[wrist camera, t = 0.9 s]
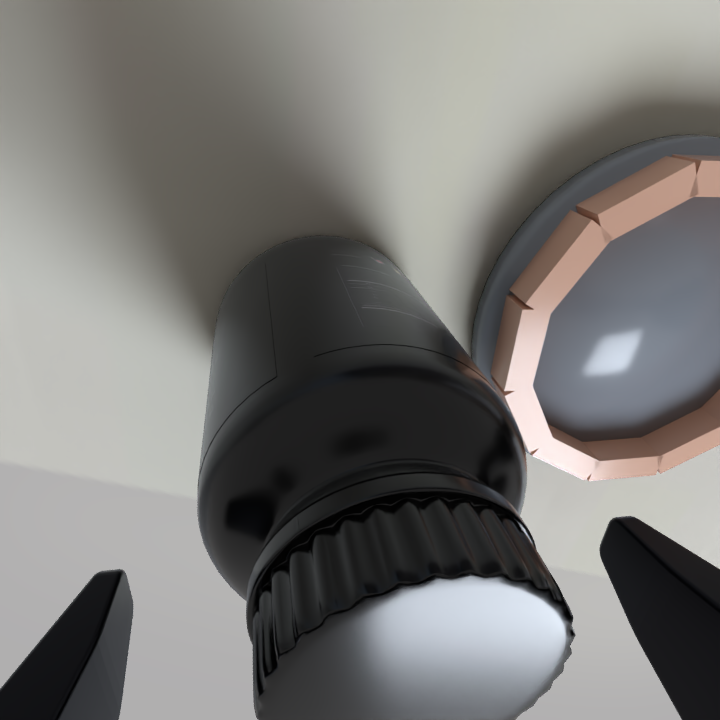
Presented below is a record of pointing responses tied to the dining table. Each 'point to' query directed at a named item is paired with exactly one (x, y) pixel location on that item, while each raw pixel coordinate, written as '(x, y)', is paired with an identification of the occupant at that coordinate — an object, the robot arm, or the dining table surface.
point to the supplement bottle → (369, 500)
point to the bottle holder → (613, 314)
